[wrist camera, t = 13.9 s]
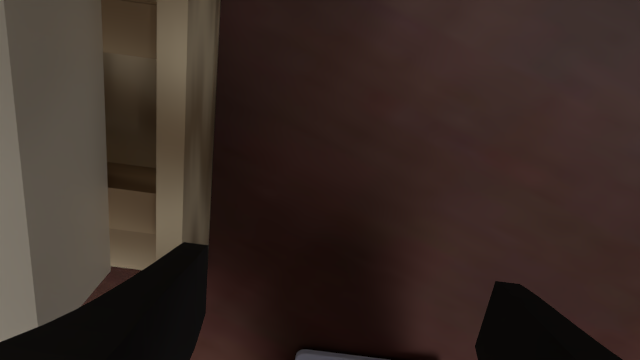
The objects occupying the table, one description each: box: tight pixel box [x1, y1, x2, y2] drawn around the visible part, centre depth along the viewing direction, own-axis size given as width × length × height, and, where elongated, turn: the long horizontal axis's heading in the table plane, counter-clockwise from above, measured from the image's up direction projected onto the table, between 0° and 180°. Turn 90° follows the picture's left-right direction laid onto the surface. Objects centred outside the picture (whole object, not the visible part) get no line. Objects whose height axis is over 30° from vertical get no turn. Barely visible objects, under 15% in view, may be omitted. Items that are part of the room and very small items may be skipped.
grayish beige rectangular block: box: [0, 0, 111, 342], centre depth 15 cm, size 13×4×5 cm, turn 173°
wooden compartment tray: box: [101, 0, 221, 270], centre depth 19 cm, size 16×10×4 cm, turn 173°
